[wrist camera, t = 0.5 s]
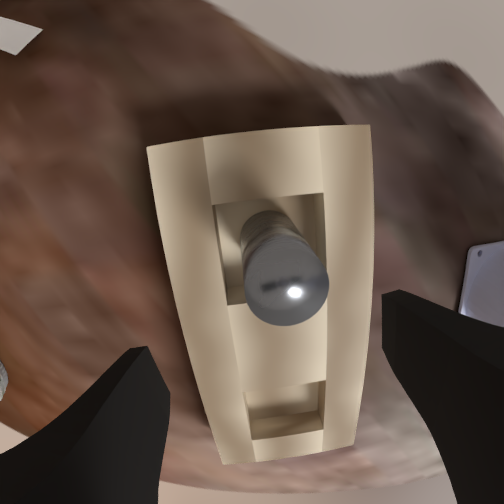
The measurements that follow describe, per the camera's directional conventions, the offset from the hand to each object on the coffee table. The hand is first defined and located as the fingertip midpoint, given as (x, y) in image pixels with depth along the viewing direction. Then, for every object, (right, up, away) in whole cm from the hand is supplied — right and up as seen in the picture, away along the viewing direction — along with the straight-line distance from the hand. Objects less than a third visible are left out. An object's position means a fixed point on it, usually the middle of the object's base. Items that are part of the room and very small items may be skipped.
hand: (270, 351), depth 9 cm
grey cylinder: (0, +4, +8) cm, 8 cm away
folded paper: (-16, +23, +2) cm, 28 cm away
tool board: (+1, -1, +10) cm, 11 cm away
